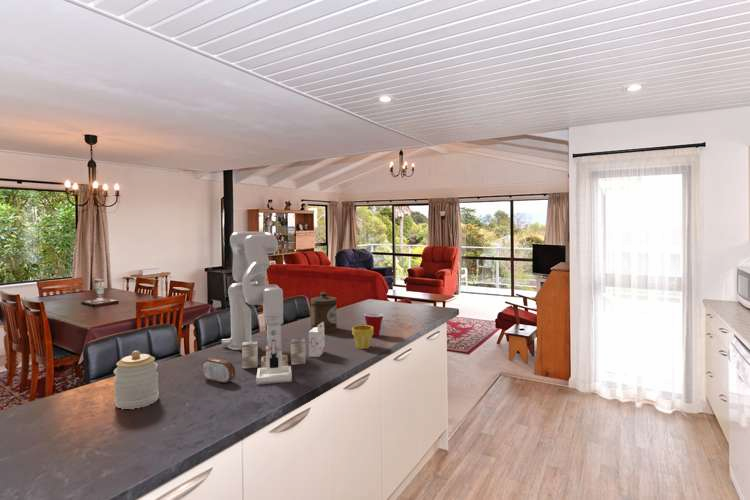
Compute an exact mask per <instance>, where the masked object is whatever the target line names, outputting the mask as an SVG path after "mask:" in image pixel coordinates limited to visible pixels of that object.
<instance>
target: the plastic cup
mask: <svg viewBox="0 0 750 500" xmlns="http://www.w3.org/2000/svg"><path fill="white" fill-rule="evenodd" d="M363 315H364V321H365V323H366V324H365V325H369V326H372V327H373V335H372V338H378V337H379V336H380V332H381V326H382V321H383V318H384V316H385V314H382V313H377V312H367V313H364V314H363Z"/></svg>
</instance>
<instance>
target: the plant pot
mask: <svg viewBox="0 0 750 500" xmlns="http://www.w3.org/2000/svg"><path fill="white" fill-rule="evenodd" d="M351 329H352V330H351V334H352V336H353V339H354V342H355V347H356V349H360V350H365V349H369V348H370V346H371V342H372V338H373V337H372V335H373V327H372V326H369V325H366V324H360V325H359V324H357V325H354V326H352V327H351Z"/></svg>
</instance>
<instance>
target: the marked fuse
mask: <svg viewBox="0 0 750 500" xmlns="http://www.w3.org/2000/svg"><path fill="white" fill-rule="evenodd" d="M275 349H276V348H275ZM271 350H272V348H271ZM277 350H278V351H277V354H278V368H270V351H269V350H268V345H266V346H265V356H266V375H268V374H281V373H282V355H283V346H282V344H281V350H280V349H278V348H277ZM275 352H276V351H275Z"/></svg>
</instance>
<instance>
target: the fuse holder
mask: <svg viewBox="0 0 750 500" xmlns="http://www.w3.org/2000/svg"><path fill="white" fill-rule="evenodd" d="M258 352H259V351H258V341H253V342H243V343H242V350H241V355H242V357H241V359H242V361H241V362H242V369H252V368H253V369H254V368H259V367H258V366H259V364H258V363H259V361H258V360H259V357H258V354H259V353H258ZM288 357H289V356H288V354H282V366H289V359H288ZM306 362H307V361H306V338H305V337H304V338H291V339H290V363H291V364H290V366H292V365H304V364H306ZM260 368H266V355H263V356H261V359H260Z"/></svg>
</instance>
